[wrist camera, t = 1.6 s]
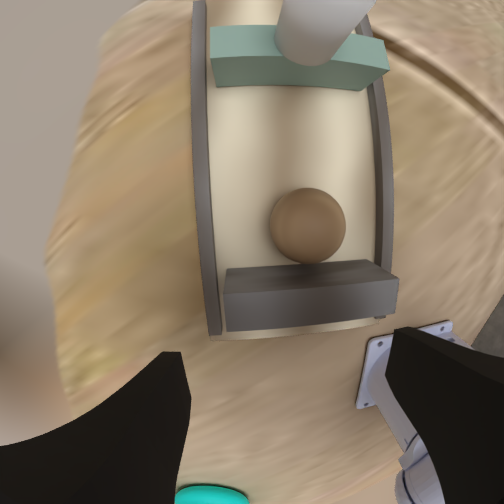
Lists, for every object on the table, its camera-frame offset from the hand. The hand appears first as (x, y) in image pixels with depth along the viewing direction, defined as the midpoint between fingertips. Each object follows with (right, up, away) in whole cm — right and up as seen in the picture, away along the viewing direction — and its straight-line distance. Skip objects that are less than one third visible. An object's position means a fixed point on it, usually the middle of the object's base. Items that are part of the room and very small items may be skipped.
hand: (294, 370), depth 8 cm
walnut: (+2, +5, +6) cm, 8 cm away
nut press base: (+1, +10, +8) cm, 13 cm away
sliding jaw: (+1, +15, +6) cm, 16 cm away
